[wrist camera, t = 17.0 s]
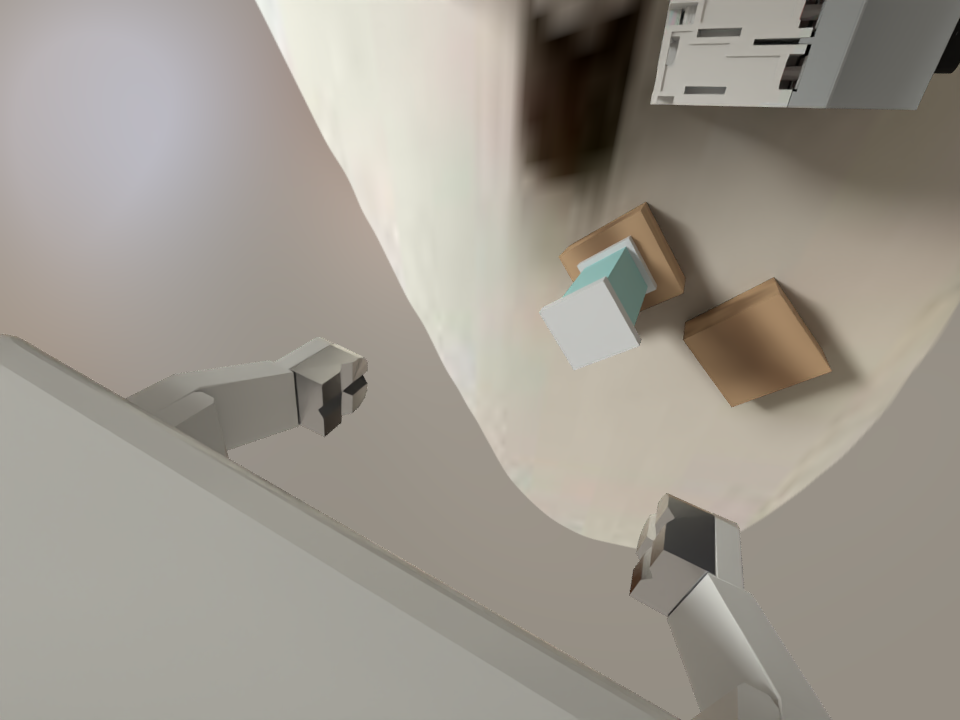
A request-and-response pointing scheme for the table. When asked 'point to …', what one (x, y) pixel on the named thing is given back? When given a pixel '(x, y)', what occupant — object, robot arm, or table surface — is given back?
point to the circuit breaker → (805, 52)
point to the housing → (601, 305)
